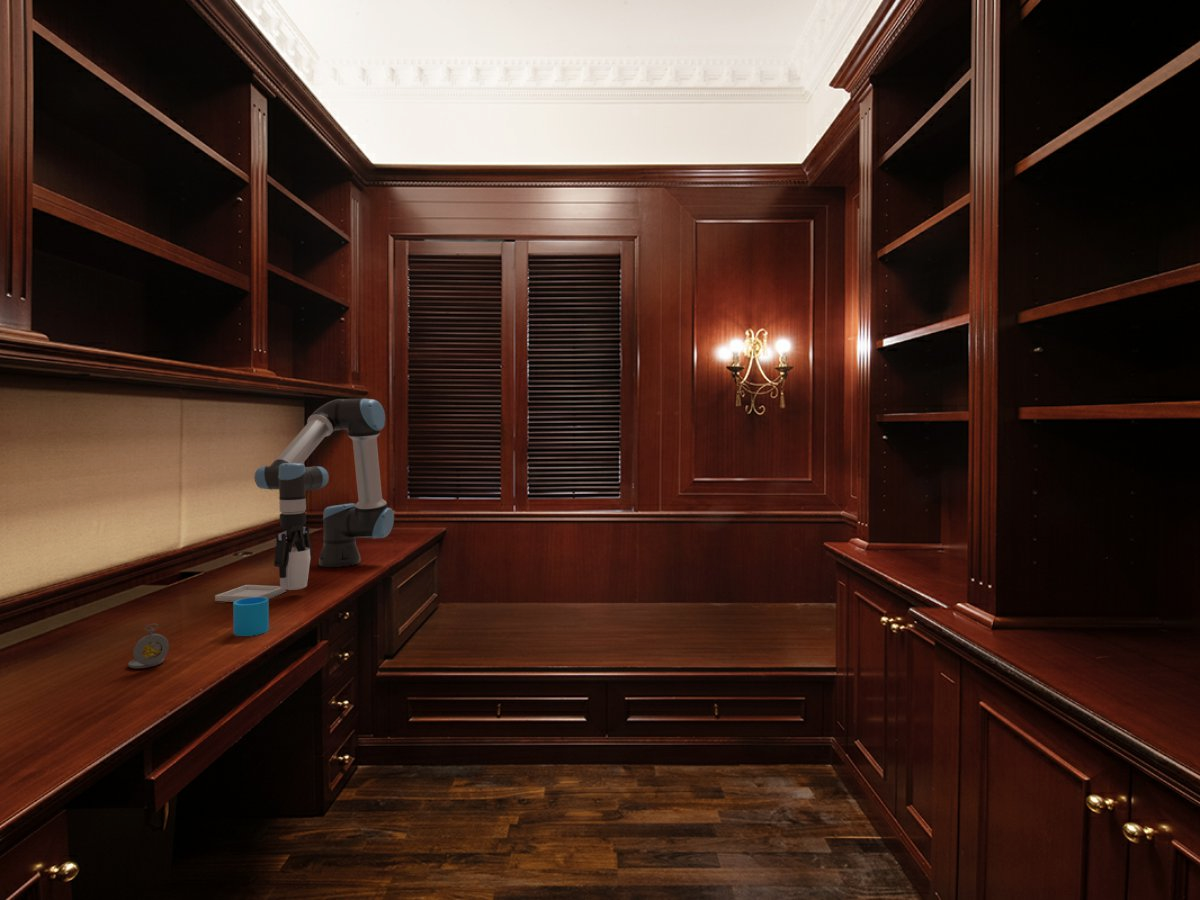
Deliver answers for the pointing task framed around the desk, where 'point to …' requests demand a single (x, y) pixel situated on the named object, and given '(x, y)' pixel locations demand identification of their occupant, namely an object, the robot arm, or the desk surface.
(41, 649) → the desk surface
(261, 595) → the tray
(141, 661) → the pocket watch
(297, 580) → the cup
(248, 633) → the mug
